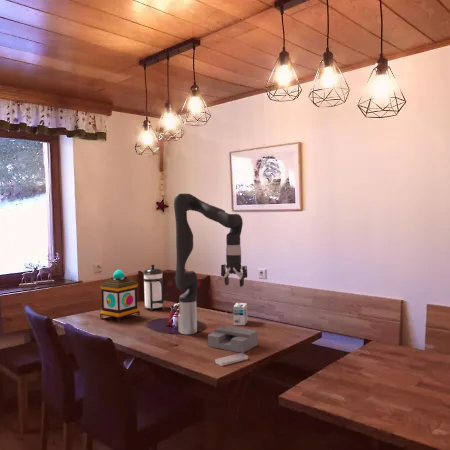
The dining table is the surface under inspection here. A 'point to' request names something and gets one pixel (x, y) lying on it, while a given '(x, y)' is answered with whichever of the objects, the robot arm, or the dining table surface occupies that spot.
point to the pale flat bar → (231, 359)
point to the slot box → (233, 338)
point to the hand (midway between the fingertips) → (234, 285)
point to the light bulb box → (240, 313)
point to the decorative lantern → (119, 296)
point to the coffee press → (153, 288)
